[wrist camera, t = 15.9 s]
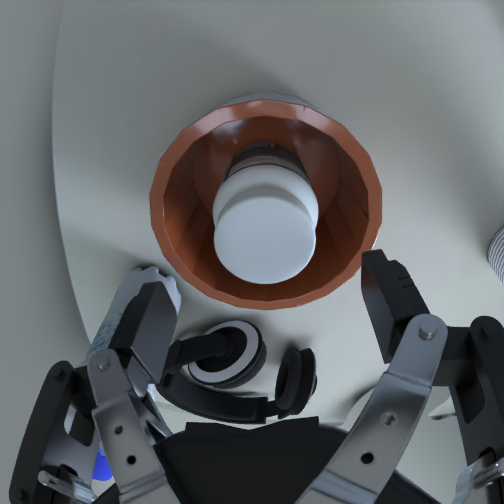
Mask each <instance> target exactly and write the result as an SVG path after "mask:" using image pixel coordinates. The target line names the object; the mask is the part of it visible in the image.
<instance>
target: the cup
mask: <svg viewBox="0 0 504 504" xmlns="http://www.w3.org/2000/svg"><path fill="white" fill-rule="evenodd" d="M488 262H489V263H490V265H491V267H492V268H493V270H494V271H495V273H496V275H497V276H498V278H499V279H500V281H501V283H502V284H503V286H504V227H503V228H502V229H501V230H500V231H499V232H498V233H497V234H496V235H495V237H494V239H493V241H492V242H491V244H490V248H489V251H488Z"/></svg>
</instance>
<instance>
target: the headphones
mask: <svg viewBox="0 0 504 504" xmlns="http://www.w3.org/2000/svg"><path fill="white" fill-rule="evenodd" d="M266 355H267V351H266V346H265V343H264V341H263V340H262V335H261V333H260V331H259V329H258V328H257V327H256V326H255V325H253V324H252V323H250V322H246V321H241V320H235V321H228V322H225V323H221V324H219V325H217V326H215V327H213V328H211V329H210V330H208V331H207V332H206V333H204V334H203V335H201V336H196V337H192V338H189V339H185V340H183V341H180V340H176V341H175V342H174V343H173V344H172V345H171V346H170V347H169V350H168V354H167V357H166V361H165V365H164V368H163V372H162V376H161V380H160V383H159V384H155V386H156V389H157V391H158V392H159V393H160V395H161V396H163V397H164V398H165V399H166V400H168V401H169V402H170V403H172V404H174V405H175V406H177V407H179V408H181V409H183V410H185V411H187V412H190V413H192V414H195V415H198V416H201V417H204V418H208V419H212V420H216V421H221V422H227V423H235V424H266V417H271V416H275V415H278V419H279V420H281V419H283V418H285V417H287V416H289V415H298V414H299V413H300V412H302V411H303V410H304V409H305V408H306V406H307V404H308V402H309V400H310V397H311V396H312V395H313V393H314V392H315V389H316V385H317V376H316V358H315V355H314V353H313V352H312V350H311V349H310V348H306V349H303V350H301V351H300V352H297V351H295V350H291V351H289V352H287V353H286V354H285V356H284V358H283V360H282V362H281V365H280V368H279V372H278V376H277V381H276V388H275V400H274V401H269V402H268V398H267V397H255V398H243V397H232V396H225V395H220V394H216V393H213V392H209V391H206V390H204V389H201V388H199V387H197V386H195V385H194V384H192V383H191V382H189V381H188V380H187V379H186V378H185V377H183V376H182V375H181V373H180V372H179V370H180V369H181V368H182V366H183V365H186V364H188V370H189V373H190V375H191V376H192V378H193V379H194V380H195V381H197V382H199V383H201V384H203V385H208V386H212V387H215V388H218V389H231V388H235V387H238V386H241V385H243V384H245V383H247V382H248V381H250V380H251V379H252V378H253V377H255V376H256V375H257V373H258V372H259V371H260V370H261V368H262V367H263V365H264V363H265V360H266Z"/></svg>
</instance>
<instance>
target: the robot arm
mask: <svg viewBox="0 0 504 504" xmlns="http://www.w3.org/2000/svg"><path fill="white" fill-rule="evenodd" d="M361 290H362V295H363V299H364V302H365V305H366V308H367V311H368V314H369V316H370V319H371V322H372V325H373V329H374V332H375V335H376V338H377V341H378V344H379V347H380V351H381V354H382V357H383V361H384V364H387V363H390V365H389V367H388V369H387V371H386V372H384V373H383V374H382V376H381V378H380V380H379V381H378V383H377V385H376V387H375V389H374V391H373V393H372V394H371V397H370V398H369V400H368V402H367V403H366V405H365V407H364V409H363V410H362V412H361V414H360V415H359V417H358V419H357V420H356V422H355V423H354V425H353V427H352V428H351V430H350V431H349V432H348V431H346V430H343V429H341V428H338V427H335V426H330V425H325V424H319V418H318V416H315V417H307V418H298V419H288V420H282V421H279V422H276V423H273V424H269V425H266V426H262V427H259V428H255V429H251V430H247V429H241V428H236V427H232V426H228V425H224V424H219V423H198V422H186V428H185V431H181V432H178V433H175V434H173V433H172V432H171V431H170V429H169V428H168V426H167V425H166V423H165V422H164V420H163V418H162V416H161V414H160V413H159V411H158V408H157V407H156V405H155V403H154V401H153V399H152V397H151V395H150V393H149V392H148V391H147V388H148V385H149V384H159V383H160V380H161V376H162V372H163V368H164V365H165V361H166V357H167V354H168V350H169V347H170V343H171V339H172V336H173V332H174V329H175V326H176V322H177V311H176V308H175V306H174V304H173V302H172V300H171V298H170V295H169V293H168V291H167V289H166V287H165V285H164V283H163V282H162V281H154V282H147V283H143V285H142V287H141V289H140V291H139V293H138V295H137V296H134V297H133V299H132V300H131V301H130V302H129V303H128V304H127V306H126V308H125V310H124V312H123V315H122V316H121V319H120V323H118V325H117V327H116V329H115V332H114V334H113V336H112V338H111V341H110V343H109V345H108V348H107V349H103V350H100V351H98V352H97V353H95V354H94V355H93V356H92V357H91V359H90V360H89V362H88V365H85V366H82V367H78V368H74V367H73V366H72V365H71V364H70V363H69V362H68V361H60V362H57V363H56V364H55V365H53V366H52V367H51V369H50V370H49V372H48V374H47V376H46V379H45V381H44V383H43V385H42V388H41V390H40V393H39V396H38V398H37V401H36V403H35V406H34V408H33V412H32V414H31V417H30V420H29V422H28V425H27V428H26V431H25V434H24V437H23V440H22V443H21V447H20V450H19V453H18V457H17V460H16V464H15V468H14V472H13V476H12V480H11V484H10V488H9V499H10V502H11V504H441V503H440V502H438V501H437V500H436V499H434V498H433V497H432V496H430V495H429V494H428V493H426V492H425V491H424V490H422V489H421V488H420V487H418V486H417V485H416V484H414V483H413V482H412V481H410V480H409V479H408V478H406V477H405V476H404V475H402V474H401V473H400V472H399V471H398V470H396V469H395V468H396V466H397V464H398V462H399V460H400V459H401V457H402V455H403V453H404V451H405V449H406V447H407V445H408V443H409V441H410V439H411V437H412V435H413V433H414V431H415V428H416V426H417V424H418V422H419V419H420V417H421V415H422V413H423V410H424V408H425V405H426V403H427V400H428V398H429V395H430V392H431V389H432V387H431V386H448V387H449V390H450V393H451V397H452V400H453V404H454V408H455V411H456V415H457V419H458V423H459V428H460V432H461V436H462V440H463V445H464V451H465V456H466V461H467V467H466V468H465V469H464V470H463V471H462V472H461V474H460V475H459V477H458V480H457V484H456V494H455V498H454V500H453V502H452V503H451V504H504V328H503V326H502V325H501V323H500V322H499V321H498V320H496V319H495V318H493V317H490V316H480V317H477V318H475V319H474V320H473V322H472V323H471V325H470V327H450V326H446V324H445V323H444V321H443V320H442V319H440V318H439V317H437V316H435V315H432V314H430V312H429V310H428V308H427V306H426V304H425V302H424V300H423V298H422V296H421V295H420V293H419V291H418V289H417V287H416V286H415V284H414V282H413V280H412V278H410V275H409V273H408V271H407V270H406V268H405V267H404V266H403V265H402V264H400V263H399V262H398V261H396V260H391V261H388V260H387V258H386V256H385V254H384V252H383V251H382V250H381V249H377V250H371V251H365V252H362V261H361ZM70 405H71V406H72V407H73V408H74V409H75V410H76V412H75V415H74V418H73V422H72V425H71V429H70V432H69V435H68V434H67V433H66V431H65V428H64V422H65V419H66V416H67V412H68V409H69V406H70ZM100 442H101V445H102V448H103V451H104V454H105V456H106V459H107V462H108V464H109V467H110V469H111V472H112V474H113V476H114V479H115V481H116V482H115V483H114V484H113V485H112V486H111V487H110V488H108V489H107V490H106V491H105V492H104V493H102V494H101V495H100V496H99V497H98V498H97V496H96V495H95V494H93V490H92V488H91V483H92V478H93V473H94V468H95V463H96V458H97V453H98V449H99V444H100Z"/></svg>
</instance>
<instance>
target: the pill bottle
mask: <svg viewBox="0 0 504 504" xmlns="http://www.w3.org/2000/svg"><path fill="white" fill-rule="evenodd" d="M213 220H214V225H215V232H214V246H215V251H216V253H217V256H218V258H219V260H220V261H221V263H222V264H223V265H224V266H225V268H226V269H227V270H229V271H230V272H231V273H232V274H234V275H235V276H237V277H239V278H241V279H243V280H246V281H249V282H253V283H259V284H272V283H278V282H281V281H284V280H287V279H289V278H291V277H293V276H295V275H296V274H298V273H299V272H300V271H301V270H302V269H303V268H304V267H305V266H306V265H307V264H308V262H309V261H310V259H311V257H312V255H313V253H314V249H315V243H316V235H315V228H316V225H317V221H318V202H317V198H316V195H315V192H314V190H313V188H312V186H311V183H310V181H309V178H308V175H307V173H306V170H305V169H304V166H303V164H302V162H301V160H300V159H299V157H298V156H297V155H296V153H295V152H294V151H293V150H291V149H290V148H289V147H287V146H286V145H284V144H281V143H279V142H275V141H270V140H262V141H256V142H253V143H250V144H248V145H246V146H244V147H243V148H241V149H240V150H239V151H238V152H237V153H236V154H235V155H234V156H233V158H232V160H231V162H230V164H229V165H228V167H227V170H226V172H225V174H224V177H223V180H222V182H221V185H220V186H219V188H218V191H217V194H216V197H215V199H214V203H213Z"/></svg>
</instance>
